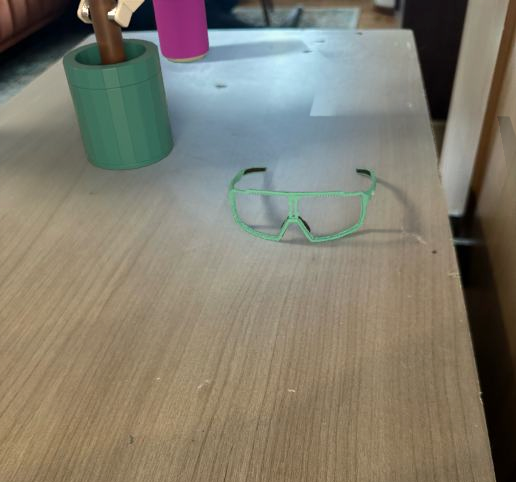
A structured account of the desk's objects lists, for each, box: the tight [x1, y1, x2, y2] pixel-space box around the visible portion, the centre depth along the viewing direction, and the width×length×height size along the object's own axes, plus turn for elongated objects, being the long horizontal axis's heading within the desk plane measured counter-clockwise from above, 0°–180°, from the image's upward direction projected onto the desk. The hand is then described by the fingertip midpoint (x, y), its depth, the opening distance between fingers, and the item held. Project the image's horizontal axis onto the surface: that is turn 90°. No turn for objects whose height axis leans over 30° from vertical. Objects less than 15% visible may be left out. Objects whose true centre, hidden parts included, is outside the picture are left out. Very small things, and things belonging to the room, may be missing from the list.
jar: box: [61, 38, 174, 171], centre depth 73 cm, size 10×10×11 cm
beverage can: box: [152, 0, 210, 64], centre depth 98 cm, size 8×8×12 cm
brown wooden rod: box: [87, 0, 127, 65], centre depth 69 cm, size 4×4×20 cm
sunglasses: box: [228, 166, 377, 243], centre depth 63 cm, size 14×15×5 cm
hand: (101, 22), depth 67 cm, fingers closed on brown wooden rod, 3 cm apart
